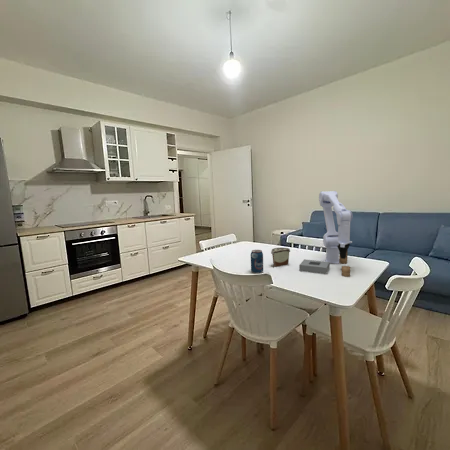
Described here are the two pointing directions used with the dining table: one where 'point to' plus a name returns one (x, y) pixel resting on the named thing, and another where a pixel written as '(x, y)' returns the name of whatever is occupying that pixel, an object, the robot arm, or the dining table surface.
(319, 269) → the hole plate
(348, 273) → the short pin
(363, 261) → the dining table surface
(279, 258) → the food container
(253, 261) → the soda can
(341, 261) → the tall pin
